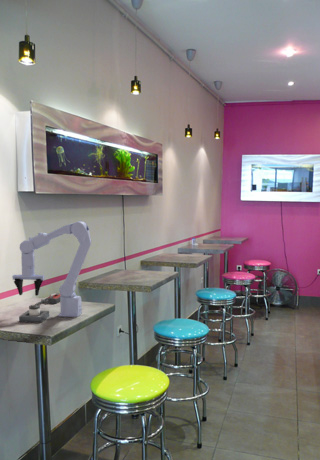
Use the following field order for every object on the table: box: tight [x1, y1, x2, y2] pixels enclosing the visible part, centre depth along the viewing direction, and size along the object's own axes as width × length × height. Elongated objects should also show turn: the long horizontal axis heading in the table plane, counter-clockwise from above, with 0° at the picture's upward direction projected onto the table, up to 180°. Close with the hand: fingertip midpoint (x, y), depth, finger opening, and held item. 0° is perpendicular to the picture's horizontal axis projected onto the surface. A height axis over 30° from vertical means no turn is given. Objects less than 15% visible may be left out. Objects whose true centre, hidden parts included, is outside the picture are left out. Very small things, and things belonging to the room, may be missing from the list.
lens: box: [28, 304, 41, 316], centre depth 189 cm, size 5×5×6 cm
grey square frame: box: [18, 309, 50, 324], centre depth 190 cm, size 10×10×2 cm
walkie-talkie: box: [34, 292, 61, 305], centre depth 220 cm, size 9×4×20 cm
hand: (28, 294), depth 196 cm, fingers open, 7 cm apart
